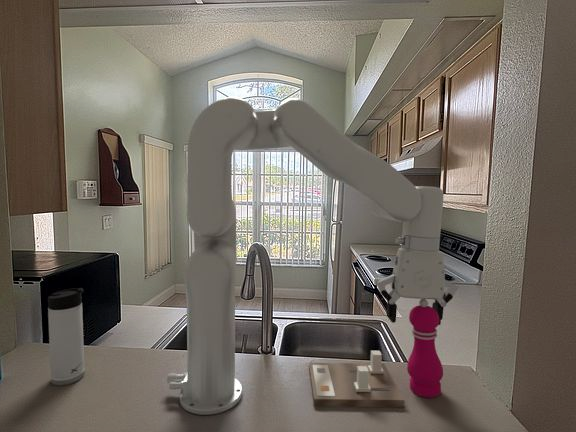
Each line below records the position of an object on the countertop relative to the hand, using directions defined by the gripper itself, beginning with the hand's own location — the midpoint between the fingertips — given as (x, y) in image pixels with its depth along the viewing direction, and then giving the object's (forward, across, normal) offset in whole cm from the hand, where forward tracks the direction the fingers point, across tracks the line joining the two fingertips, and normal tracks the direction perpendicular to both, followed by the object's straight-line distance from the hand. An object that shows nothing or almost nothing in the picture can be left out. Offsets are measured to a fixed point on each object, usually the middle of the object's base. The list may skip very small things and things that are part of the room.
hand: (413, 321), depth 75 cm
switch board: (+15, -13, -1) cm, 20 cm away
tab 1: (+13, -11, -4) cm, 18 cm away
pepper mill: (+14, +3, -2) cm, 15 cm away
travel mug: (+17, -76, +1) cm, 78 cm away
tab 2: (+13, -7, +3) cm, 15 cm away
